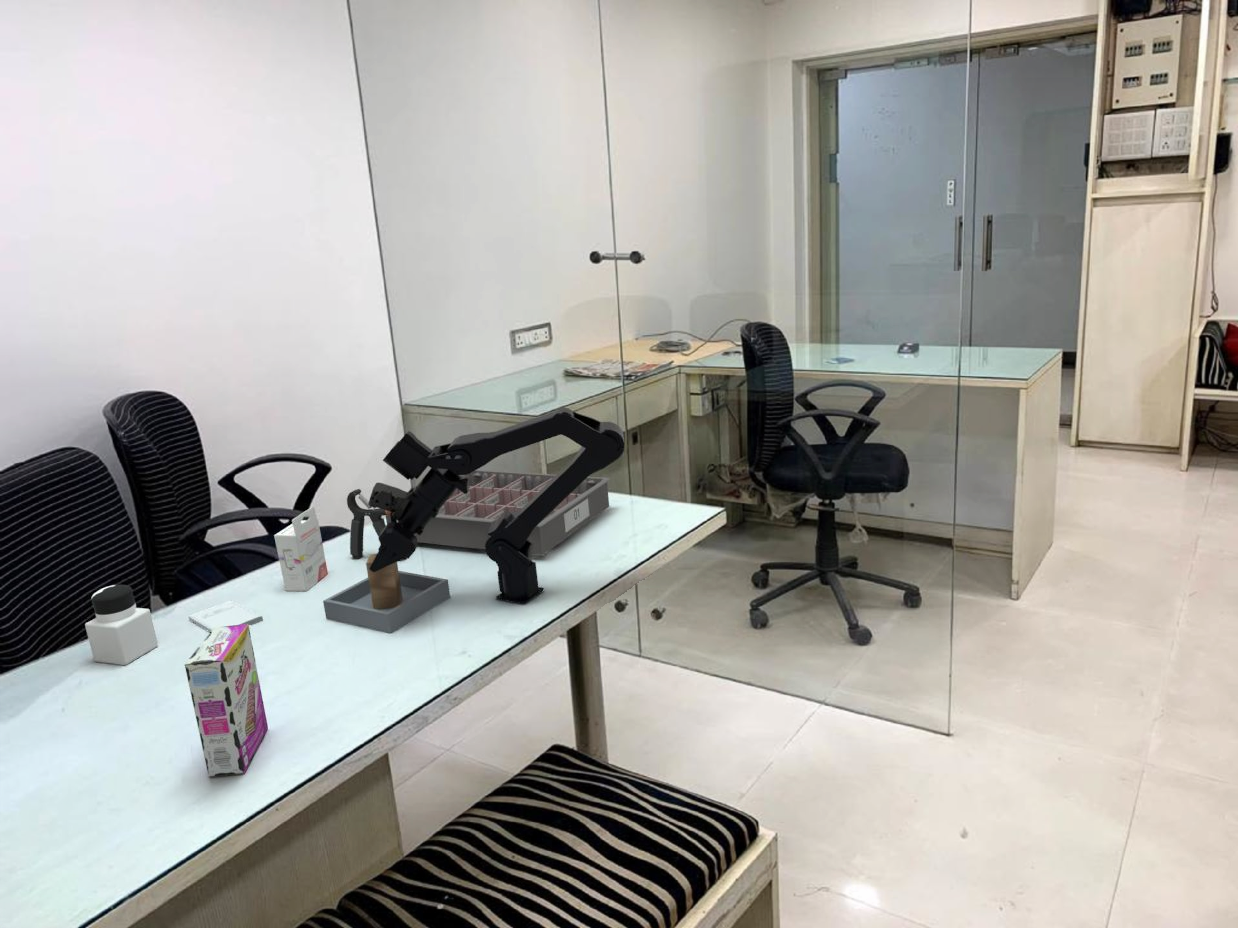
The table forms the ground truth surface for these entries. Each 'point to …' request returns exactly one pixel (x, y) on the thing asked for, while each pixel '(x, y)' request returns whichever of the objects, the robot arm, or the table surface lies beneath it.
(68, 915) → the table surface
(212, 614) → the white power bank
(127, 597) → the medicine bottle
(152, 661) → the table surface
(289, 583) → the ink cartridge box
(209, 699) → the candy bar box
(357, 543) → the hand grip strengthener
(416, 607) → the charcoal bin
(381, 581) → the walnut block
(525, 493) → the organizer tray
